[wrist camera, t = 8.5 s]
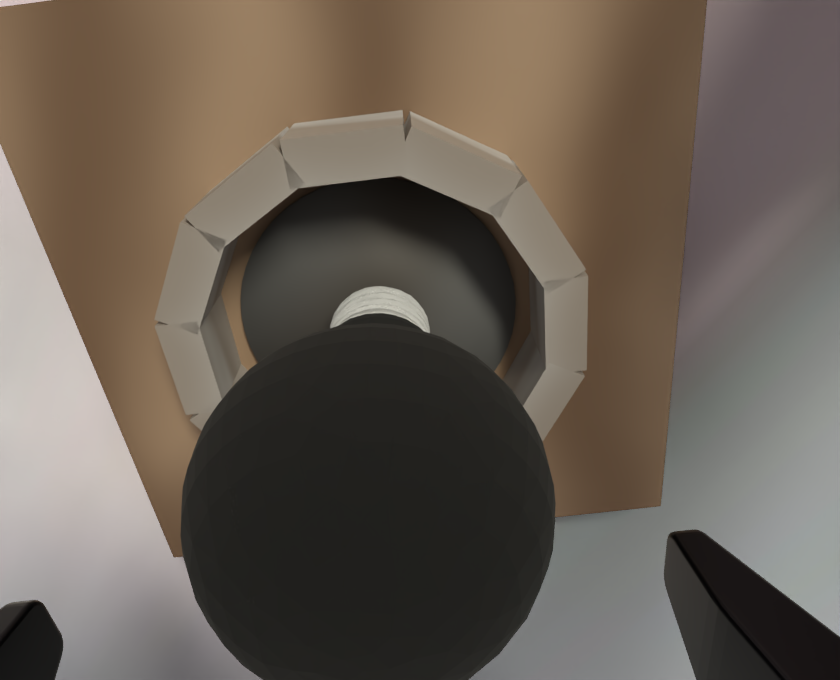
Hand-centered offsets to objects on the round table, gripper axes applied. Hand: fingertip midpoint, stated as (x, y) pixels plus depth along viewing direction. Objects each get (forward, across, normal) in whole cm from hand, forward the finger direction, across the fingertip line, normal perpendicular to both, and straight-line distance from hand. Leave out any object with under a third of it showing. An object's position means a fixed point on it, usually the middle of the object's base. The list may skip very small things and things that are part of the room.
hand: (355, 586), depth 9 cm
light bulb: (+9, 0, 0) cm, 9 cm away
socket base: (+10, 0, 0) cm, 10 cm away
